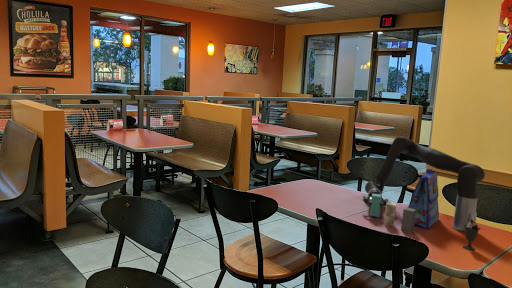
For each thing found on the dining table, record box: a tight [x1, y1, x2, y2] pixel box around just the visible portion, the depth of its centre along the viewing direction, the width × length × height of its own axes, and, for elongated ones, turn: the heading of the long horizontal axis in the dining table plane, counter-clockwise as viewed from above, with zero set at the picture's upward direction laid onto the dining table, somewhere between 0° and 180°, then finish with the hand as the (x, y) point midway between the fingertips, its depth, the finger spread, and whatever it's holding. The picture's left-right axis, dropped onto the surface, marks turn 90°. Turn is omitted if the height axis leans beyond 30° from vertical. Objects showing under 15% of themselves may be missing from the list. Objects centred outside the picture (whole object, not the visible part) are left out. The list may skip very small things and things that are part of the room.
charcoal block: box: [400, 207, 416, 234], centre depth 201 cm, size 4×4×11 cm
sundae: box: [462, 215, 481, 251], centre depth 183 cm, size 7×7×15 cm
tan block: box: [383, 201, 397, 227], centre depth 208 cm, size 4×4×11 cm
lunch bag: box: [408, 168, 440, 230], centre depth 215 cm, size 22×14×29 cm, turn 143°
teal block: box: [369, 194, 381, 218], centre depth 217 cm, size 4×4×11 cm
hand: (375, 204), depth 215 cm, fingers closed on teal block, 4 cm apart
